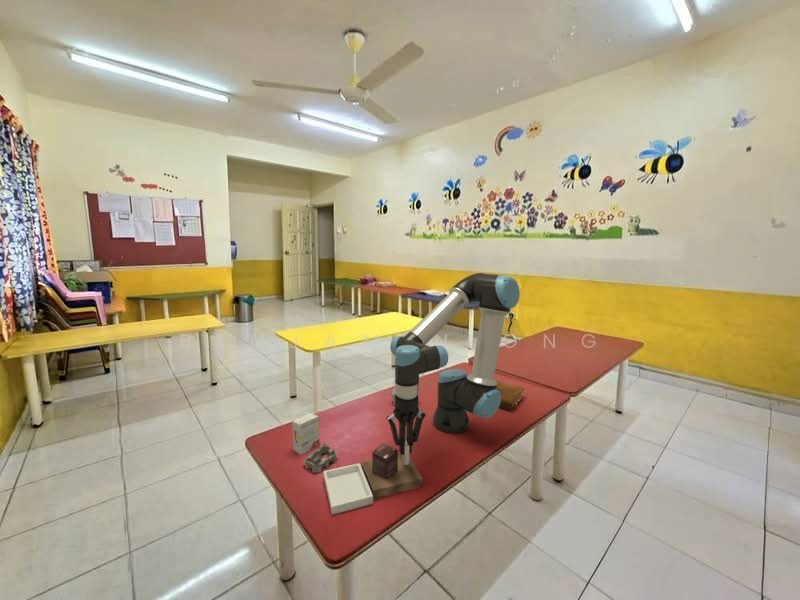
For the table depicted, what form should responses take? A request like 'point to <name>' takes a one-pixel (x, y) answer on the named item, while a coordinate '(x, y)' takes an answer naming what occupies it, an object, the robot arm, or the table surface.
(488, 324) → the robot arm
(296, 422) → the ink box
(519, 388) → the diary
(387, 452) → the box
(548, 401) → the table surface
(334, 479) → the bin
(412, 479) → the wooden board
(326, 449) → the grey lobed frame
